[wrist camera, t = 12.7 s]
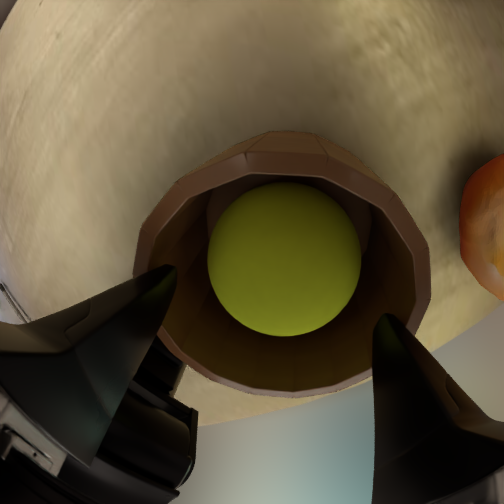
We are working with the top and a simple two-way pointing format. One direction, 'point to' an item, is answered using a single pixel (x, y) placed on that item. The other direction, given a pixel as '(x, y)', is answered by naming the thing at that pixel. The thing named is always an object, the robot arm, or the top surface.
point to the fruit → (484, 226)
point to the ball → (284, 259)
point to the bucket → (298, 346)
